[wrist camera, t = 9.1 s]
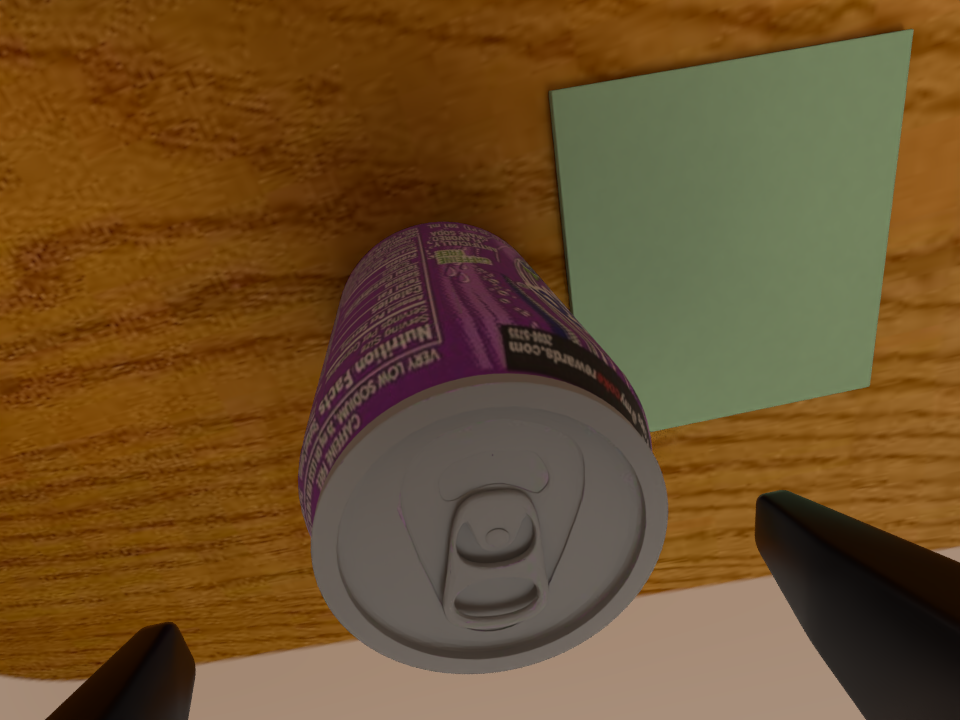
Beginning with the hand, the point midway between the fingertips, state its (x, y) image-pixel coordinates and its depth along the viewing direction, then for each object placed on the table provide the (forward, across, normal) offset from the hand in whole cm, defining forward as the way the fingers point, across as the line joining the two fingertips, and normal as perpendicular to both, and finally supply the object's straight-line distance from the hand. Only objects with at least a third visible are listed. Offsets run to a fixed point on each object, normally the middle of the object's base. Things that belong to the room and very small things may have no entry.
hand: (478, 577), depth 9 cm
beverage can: (+13, 0, 0) cm, 13 cm away
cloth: (+13, -11, 0) cm, 17 cm away
